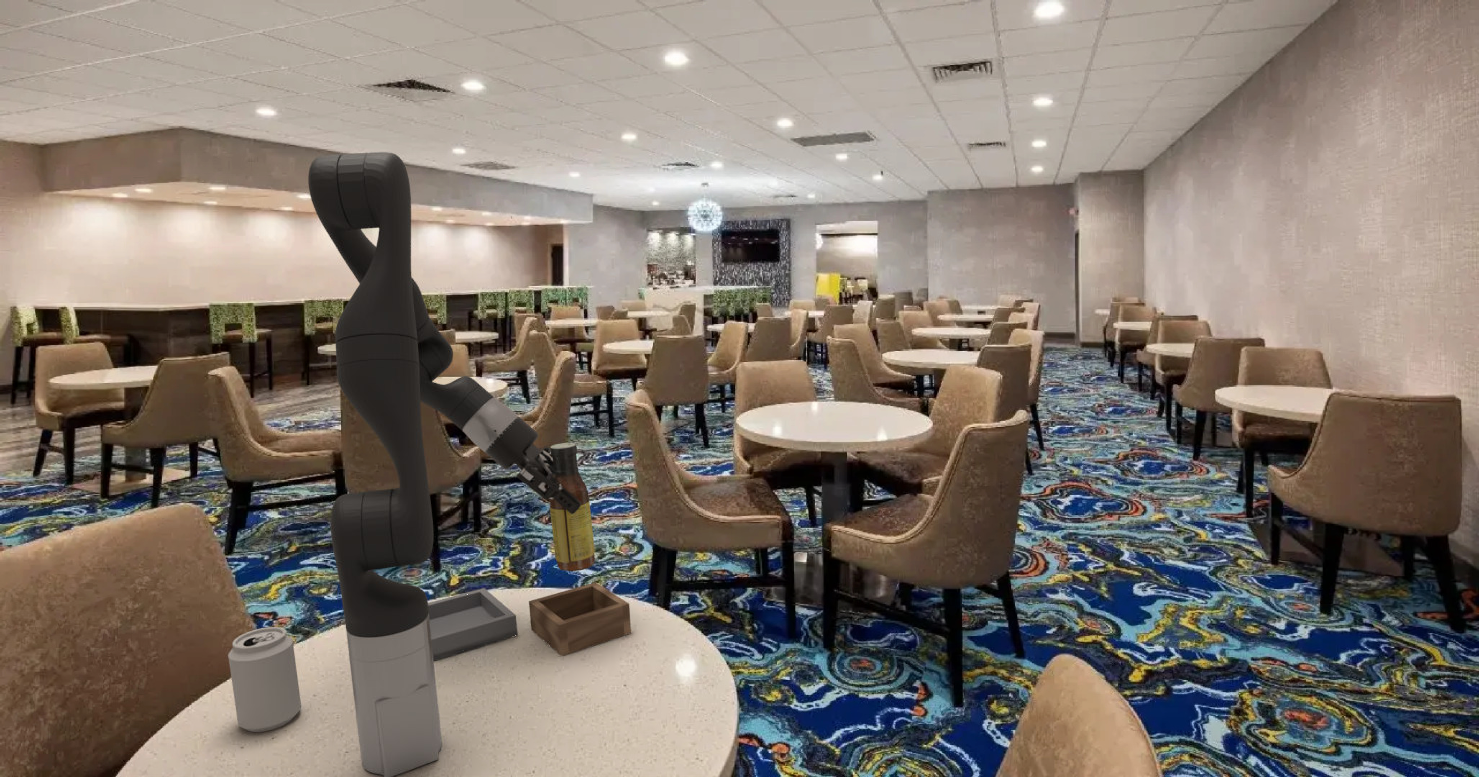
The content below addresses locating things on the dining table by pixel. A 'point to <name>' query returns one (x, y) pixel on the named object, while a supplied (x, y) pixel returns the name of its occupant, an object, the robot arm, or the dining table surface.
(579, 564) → the sauce bottle
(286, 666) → the can
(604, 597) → the bottle holder
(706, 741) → the dining table surface
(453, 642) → the tray
